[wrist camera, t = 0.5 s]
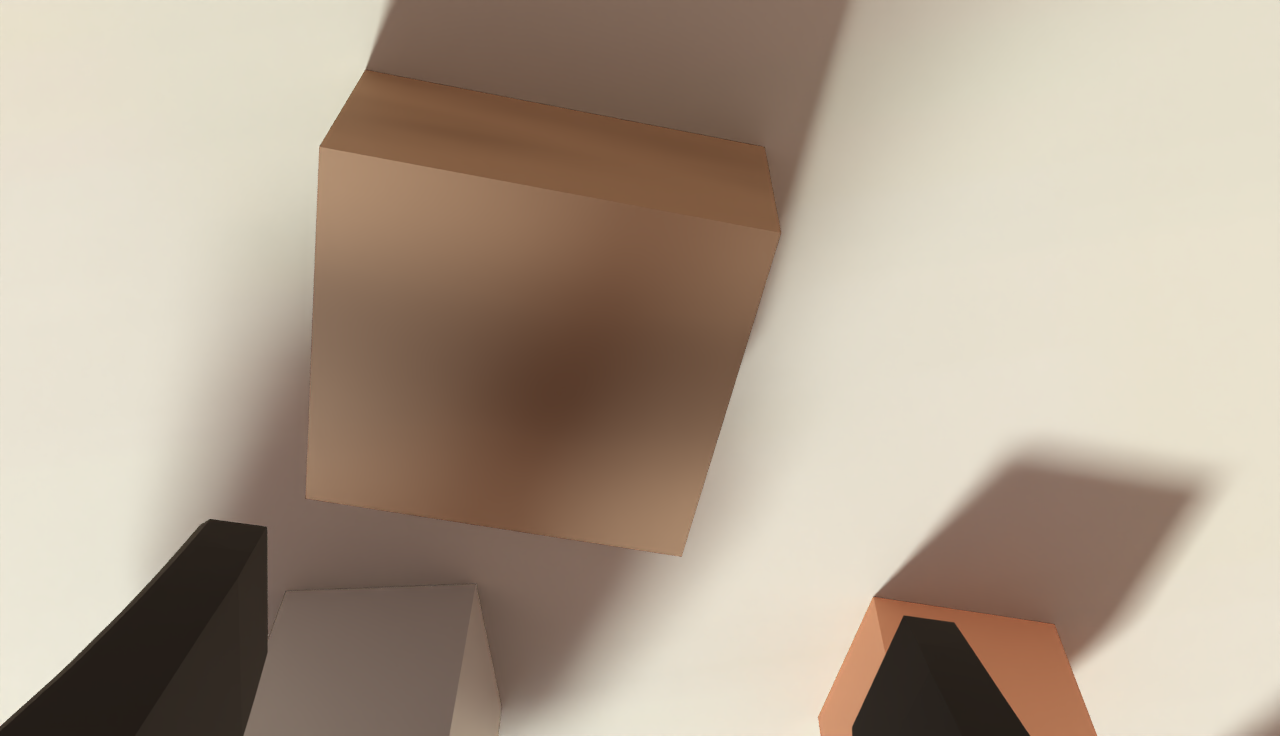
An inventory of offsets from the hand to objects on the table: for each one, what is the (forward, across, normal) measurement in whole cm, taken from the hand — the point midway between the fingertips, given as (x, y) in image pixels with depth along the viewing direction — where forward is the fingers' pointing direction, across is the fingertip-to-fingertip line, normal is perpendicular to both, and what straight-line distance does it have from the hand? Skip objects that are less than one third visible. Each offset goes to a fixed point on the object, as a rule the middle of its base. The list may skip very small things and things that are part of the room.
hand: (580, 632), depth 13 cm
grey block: (+10, +3, +12) cm, 16 cm away
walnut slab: (+10, +1, +1) cm, 10 cm away
